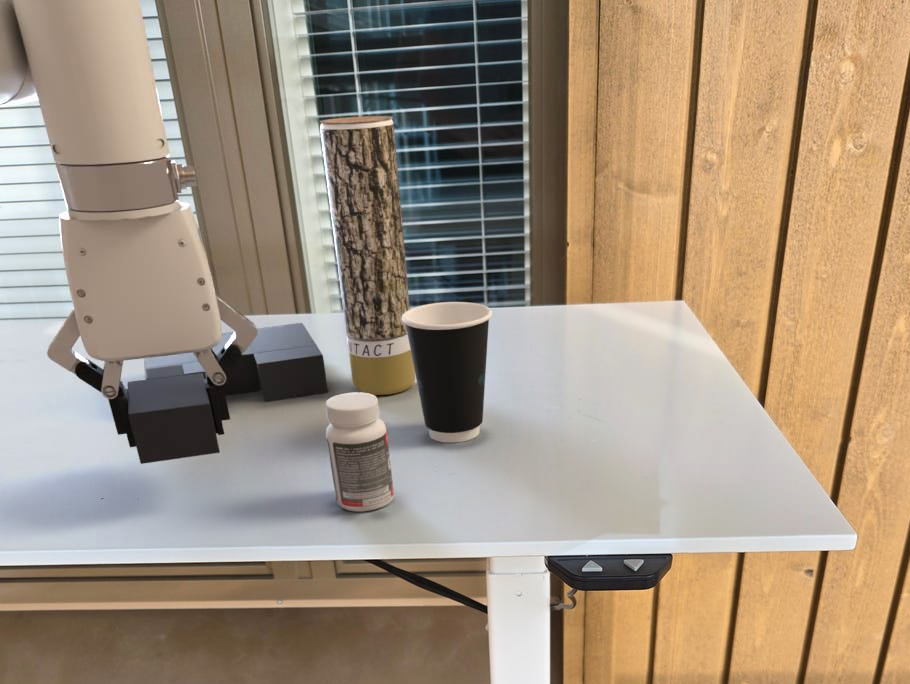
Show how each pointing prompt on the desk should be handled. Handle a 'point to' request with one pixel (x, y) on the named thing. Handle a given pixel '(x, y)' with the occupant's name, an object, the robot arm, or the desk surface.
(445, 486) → the desk surface
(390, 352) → the paper tube
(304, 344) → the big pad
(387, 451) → the pill bottle
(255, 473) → the desk surface
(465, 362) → the dixie cup
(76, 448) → the desk surface
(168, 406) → the dark grey stepped block
